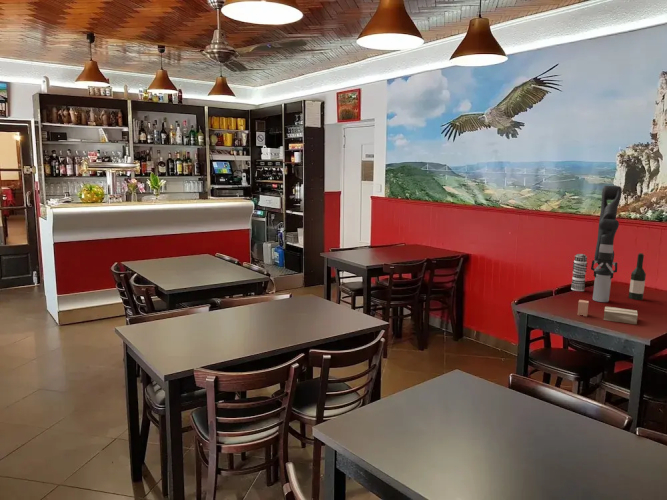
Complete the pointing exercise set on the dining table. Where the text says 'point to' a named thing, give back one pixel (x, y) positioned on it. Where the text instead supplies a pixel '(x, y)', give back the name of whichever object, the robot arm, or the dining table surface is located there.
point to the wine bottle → (637, 280)
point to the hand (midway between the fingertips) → (603, 278)
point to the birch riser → (620, 315)
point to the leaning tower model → (579, 272)
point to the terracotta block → (583, 307)
